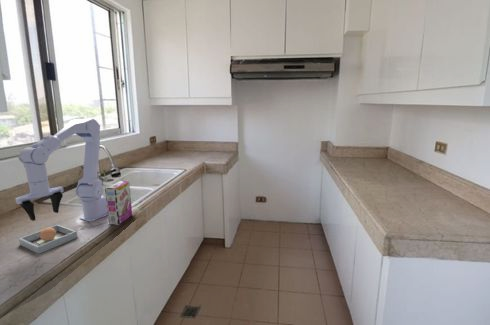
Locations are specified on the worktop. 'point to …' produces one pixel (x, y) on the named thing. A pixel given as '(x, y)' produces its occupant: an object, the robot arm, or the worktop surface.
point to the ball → (47, 234)
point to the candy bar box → (118, 202)
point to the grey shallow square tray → (47, 244)
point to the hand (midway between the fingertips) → (44, 216)
